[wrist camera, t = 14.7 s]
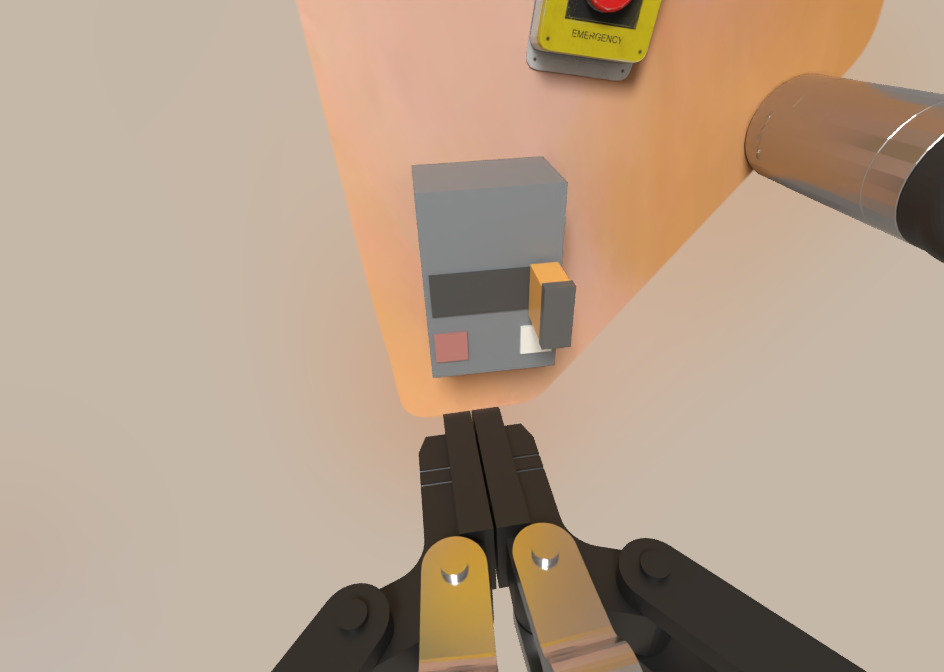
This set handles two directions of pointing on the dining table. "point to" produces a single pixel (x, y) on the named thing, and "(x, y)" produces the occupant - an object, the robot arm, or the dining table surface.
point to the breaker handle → (551, 304)
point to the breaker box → (486, 259)
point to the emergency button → (590, 36)
